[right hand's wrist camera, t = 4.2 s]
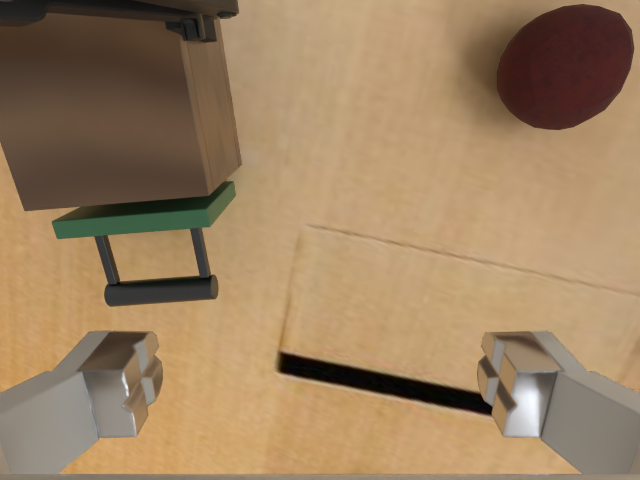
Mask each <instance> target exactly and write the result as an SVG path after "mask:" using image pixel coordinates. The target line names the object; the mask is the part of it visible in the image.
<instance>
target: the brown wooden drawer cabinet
mask: <svg viewBox="0 0 640 480" xmlns="http://www.w3.org/2000/svg"><path fill="white" fill-rule="evenodd" d="M0 1H1V0H0ZM214 25H215V31H216V38H217V42H207V43H204V42H202V41H199V40H196V41H183V35H181V34H178V33H175V32H172V31H170V30H167V29H166V25H165V22H162V21H149V20H136V19H122V18H109V17H96V16H82V15H69V14H56V13H46V16H45V18H43V19H42V20H41V21H38V22H35V23H32V24H30V25H27V26H23V27H4V26H0V142H1V145H2V148H3V151H4V154H5V157H6V160H7V162H8V165H9V168H10V171H11V174H12V177H13V180H14V182H15V185H16V188H17V191H18V194H19V197H20V200H21V202H22V205H23V208H24V211H33V210H45V209H57V208H69V207H81V206H93V205H104V204H116V203H128V202H140V201H152V200H164V199H176V198H188V197H200V196H209V195H210V194H211V193H212V192H213V191H214V190H215V189H216V188H217V187H218V186H219V185H220V184H222V183H223V182H224V181H225V180H226V179H227V178H228V177H229V176H230V175H231V174H232V173H233V172H234V171H235V170H236V169H237V168H239V167H240V166H241V165H242V163H241V157H240V150H239V144H238V137H237V131H236V124H235V118H234V111H233V105H232V98H231V92H230V85H229V79H228V72H227V66H226V60H225V53H224V47H223V40H222V34H221V27H220V21H219V17H218V19H216V20H214Z"/></svg>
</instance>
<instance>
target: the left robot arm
mask: <svg viewBox="0 0 640 480" xmlns="http://www.w3.org/2000/svg"><path fill="white" fill-rule="evenodd" d="M46 13H56V14H69V15H82V16H96V17H109V18H122V19H136V20H149V21H162V22H165V25H166V29H167V30H170V31H172V32H175V33H178V34H181V35H183V41H196V40H199V41H202V42H204V43H207V42H217V38H216V31H215V25H214V20H216V19H218V17H220V18H221V19H228V18H231V17H233V16H236V14H239V9H238V1H237V0H1V1H0V26H4V27H23V26H27V25H30V24H32V23H35V22H38V21H41V20H42V19H43V18H45V16H46Z"/></svg>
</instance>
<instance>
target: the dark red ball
mask: <svg viewBox="0 0 640 480" xmlns="http://www.w3.org/2000/svg"><path fill="white" fill-rule="evenodd" d="M633 53H634V43H633V36H632V30H631V28H630V27H629V26H628V24H627V23H626V21H625V20H624V19H623V17H622V16H621V14H619V13H616V12H613V11H611V10H608V9H605V8H602V7H600V6H592V5H585V4H580V5H571V6H563V7H561V8H558V9H555V10H553V11H550V12H547V13H545V14H542V15H540V16H539V17H537V18H535V19H534V20H532V21H531V22H530V23H528V24H527V25H525V26H524V27H523V28H521V30H520V31H519V32H518V33H517V34H516V35H515V37H514V38H513V39H512V40H511V41H510V43H509V44H508V46H507V48H506V50H505V52H504V53H503V55H502V57H501V60H500V63H499V67H498V71H497V88H498V91H499V94H500V97H501V100H502V101H503V103H504V104H505V106H506V107H507V108H508V110H509V111H510V112H511V113H513V114H514V115H515V116H516V117H517V118H518V119H520V120H521V121H523V122H525V123H527V124H529V125H531V126H533V127H535V128H542V129H550V130H561V129H566V128H571V127H574V126H576V125H578V124H580V123H582V122H584V121H586V120H588V119H590V118H592V117H594V116H595V115H597V114H599V113H600V112H602V111H604V110H605V109H606V108H607V107H608V105H609V104H610V103H611V102H612V101H613V99H614V98H615V97H616V96H617V95H618V94H619V92H620V91H621V89H622V87H623V85H624V82H625V80H626V78H627V76H628V73H629V71H630V69H631V63H632V58H633Z"/></svg>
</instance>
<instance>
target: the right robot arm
mask: <svg viewBox="0 0 640 480" xmlns="http://www.w3.org/2000/svg"><path fill="white" fill-rule="evenodd" d="M158 347H159V344H158V339H157V335H156V334H155V333H154V332H144V331H92V332H88V334H87V335H86V336H85V337H84V338H83V339H82V340H81V341H80V342H79V343H78V344H77V345H76V346H75V347H74V349H73V350H72V351H71V352H70V353H69V354H68V355H67V356H66V357H65V358H64V359H63V360H62V361H61V362H60V364H59V365H58V366H57V367H56V368H55V369H54V370H53V371H52V372H43V373H41V374H39V375H37V376H35V377H33V378H31V379H29V380H27V381H24V382H22V383H20V384H18V385H16V386H14V387H12V388H10V389H8V390H6V391H4V392H1V393H0V480H640V393H638V392H636V391H634V390H632V389H630V388H628V387H626V386H624V385H622V384H620V383H618V382H615V381H613V380H611V379H609V378H607V377H605V376H603V375H601V374H599V373H597V372H588V371H587V370H586V369H585V368H584V367H583V366H582V365H581V363H580V362H579V361H578V360H577V359H576V358H575V357H574V356H573V355H572V354H571V353H570V352H569V351H568V350H567V348H566V347H565V346H564V345H563V344H562V343H561V342H560V341H559V340H558V339H557V338H556V337H555V336H554V335H553V333H551V332H549V331H547V330H546V331H524V332H485V334H484V336H483V338H482V344H481V347H482V349H483V351H484V353H485V354H486V355H485V356H484V357H483V358H482V359H481V360H480V361H479V362H478V370H477V378H478V386H479V389H480V393H481V395H482V397H483V399H484V401H485V402H487V403H488V404H490V405H491V406H493V410H492V416H493V418H494V420H495V422H496V424H497V426H498V428H499V430H500V432H501V434H502V436H503V437H521V438H541V440H542V441H543V442H544V443H546V444H547V445H548V446H549V447H550V448H552V449H553V450H554V451H555V452H557V453H558V454H559V455H560V456H561V457H563V458H564V459H565V460H566V461H567V462H569V463H570V464H571V465H572V466H574V467H575V468H576V469H577V470H578V471H580V472H581V473H582V474H58V473H59V472H60V471H62V470H63V469H64V468H65V467H67V466H68V465H69V464H70V463H71V462H73V461H74V460H75V459H76V458H78V457H79V456H80V455H81V454H82V453H84V452H85V451H86V450H87V449H89V448H90V447H91V446H92V445H93V444H95V443H96V442H97V441H98V440H99V438H118V437H137V436H138V434H139V432H140V430H141V428H142V426H143V424H144V422H145V420H146V418H147V416H148V410H147V406H149V405H150V404H152V403H153V402H155V401H156V399H157V397H158V395H159V393H160V389H161V385H162V380H163V369H162V362H161V361H160V360H159V359H158V358H157V357H156V356H155V355H154V354H155V353H156V351H157V349H158Z"/></svg>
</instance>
